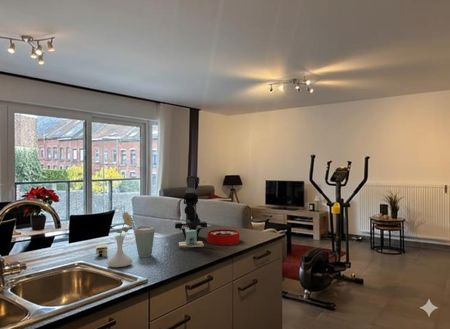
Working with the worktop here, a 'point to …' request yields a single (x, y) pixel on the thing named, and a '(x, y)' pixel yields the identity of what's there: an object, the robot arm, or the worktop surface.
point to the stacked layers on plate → (102, 250)
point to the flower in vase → (120, 257)
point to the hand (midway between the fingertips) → (190, 239)
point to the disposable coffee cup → (144, 240)
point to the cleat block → (190, 234)
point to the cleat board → (191, 244)
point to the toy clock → (223, 236)
